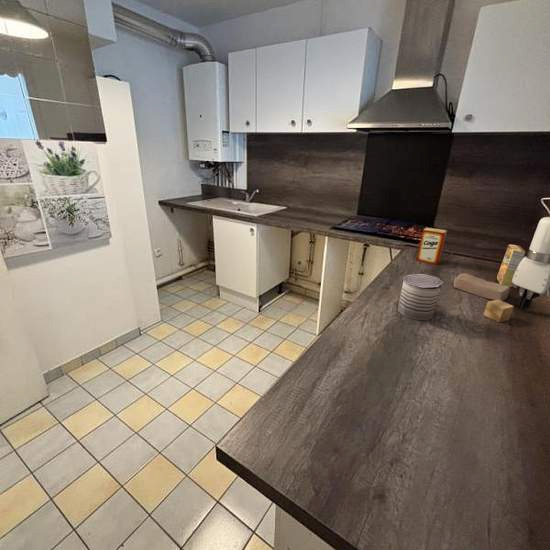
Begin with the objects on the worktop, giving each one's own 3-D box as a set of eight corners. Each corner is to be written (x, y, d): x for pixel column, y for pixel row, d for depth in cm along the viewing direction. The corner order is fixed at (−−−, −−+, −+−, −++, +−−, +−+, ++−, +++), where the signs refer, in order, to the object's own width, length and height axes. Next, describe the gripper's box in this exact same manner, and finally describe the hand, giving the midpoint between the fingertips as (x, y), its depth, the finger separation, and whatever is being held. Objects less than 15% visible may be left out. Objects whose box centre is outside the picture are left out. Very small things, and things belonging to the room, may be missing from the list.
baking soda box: (416, 260, 145) (422, 229, 139) (419, 257, 150) (426, 226, 144) (436, 264, 140) (444, 232, 134) (439, 261, 145) (447, 229, 138)
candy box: (496, 278, 126) (507, 244, 120) (508, 279, 124) (520, 245, 118) (500, 285, 119) (512, 249, 113) (512, 287, 117) (526, 251, 111)
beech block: (509, 319, 94) (514, 306, 92) (498, 322, 92) (503, 308, 90) (493, 312, 98) (498, 299, 96) (483, 315, 96) (487, 301, 94)
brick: (507, 296, 109) (511, 285, 107) (500, 303, 104) (505, 291, 102) (460, 282, 121) (463, 272, 119) (451, 287, 116) (454, 277, 114)
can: (427, 324, 90) (436, 289, 85) (391, 311, 97) (398, 278, 93) (438, 311, 98) (447, 278, 93) (404, 300, 105) (410, 269, 100)
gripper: (578, 263, 87) (554, 316, 94) (524, 248, 100) (507, 296, 107) (563, 266, 85) (540, 320, 92) (509, 251, 98) (493, 299, 105)
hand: (522, 307), depth 100 cm, fingers closed
